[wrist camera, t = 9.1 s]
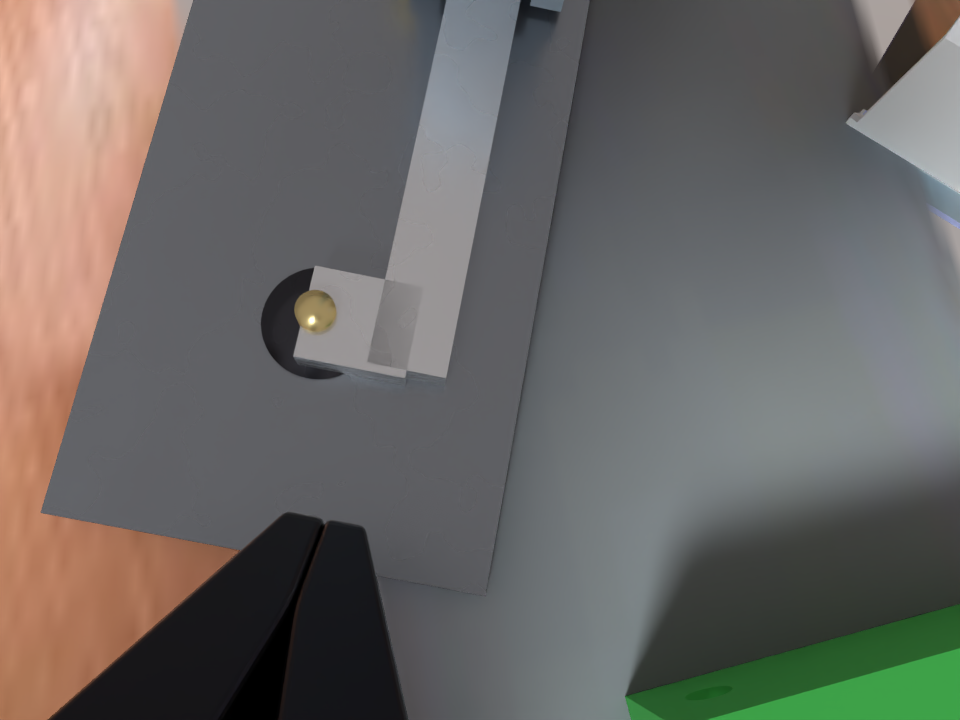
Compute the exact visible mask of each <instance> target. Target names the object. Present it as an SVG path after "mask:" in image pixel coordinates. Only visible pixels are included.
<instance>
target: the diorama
mask: <svg viewBox="0 0 960 720" xmlns="http://www.w3.org/2000/svg"><path fill="white" fill-rule="evenodd" d="M880 61H881V64H882V68H883V71H884V74H885V77H886V80H887V83H888V87H889V90H888V91H887V92H886V93H885V94H884V95H883V96H882V97H881V98H880V99H879V100H878V101H877V102H876V103H875V104H874V105H873V106H872V107H871V108H870V109H869V110H868V111H866V110H865V109H863V110H862V111H861V112H860V113H853V114H852V115H851V116H850V117H849V118H848V120H847V121H846V124H847V125H849V126H851V127H852V128H854V129H856V130H857V131H859V132H861V133H862V134H864V135H866V136H867V137H869V138H871V139H872V140H874V141H875V142H877V143H879V144H880V145H882V146H884V147H885V148H887V149H889V150H890V151H892V152H894V153H895V154H897V155H898V156H900V157H902V158H903V159H905V160H907V161H908V162H910V163H912V164H913V165H915V166H917V167H918V168H920V171H921V174H922V177H923V180H924V183H925V186H926V189H927V191H928V194H929V197H930V200H931V202H932V205H933V207H934V209H935V212H936V214H937V216H939V217H940V218H942V219H944V220H945V221H947V222H949V223H950V224H952V225H954V226H955V227H957V228H959V229H960V16H959V17H958V19H957V20H956V21H955V23H954V24H953V25H952V27H951V28H950V29H949V31H948V32H947V33H946V34H945V35H944V36H943V37H942V38H941V39H940V40H939V41H938V42H937V43H936V44H935V45H934V46H933V45H932V42H931V39H930V36H929V34H928V31H927V29H926V26H925V24H924V22H923V19H922V17H921V15H920V13H919V10H918V8H917V6H916V3H915V2H914V3H913V5H912V7H911V8H910V10H909V12H908V14H907V15H906V17H905V19H904V21H903V22H902V24H901V26H900V27H899V29H898V31H897V33H896V34H895V36H894V37H893V40H892V41H891V43H890V44H889V46H888V48H887V49H886V51H885V53H884V55H883V56H882V58H881V60H880Z"/></svg>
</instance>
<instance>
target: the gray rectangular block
mask: <svg viewBox="0 0 960 720" xmlns="http://www.w3.org/2000/svg"><path fill="white" fill-rule="evenodd" d="M563 2H564V0H531V3H530V6H534V7H539V8H544V9H548V10H553V11H558V12H561V9H562V6H563Z"/></svg>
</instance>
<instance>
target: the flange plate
mask: <svg viewBox="0 0 960 720" xmlns="http://www.w3.org/2000/svg"><path fill="white" fill-rule="evenodd" d="M589 2H590V0H564V2H563V6H562V9H561V12H558V11H553V10H548V9H544V8H539V7H534V6H530V3H531V0H193V3H192V7H191V10H190V13H189V17H188V20H187V23H186V27H185V30H184V33H183V37H182V40H181V43H180V47H179V50H178V54H177V57H176V60H175V64H174V67H173V70H172V74H171V77H170V80H169V84H168V87H167V90H166V94H165V97H164V100H163V104H162V107H161V111H160V114H159V117H158V121H157V124H156V127H155V131H154V134H153V137H152V141H151V144H150V147H149V151H148V154H147V158H146V161H145V164H144V168H143V171H142V174H141V178H140V181H139V184H138V188H137V191H136V194H135V198H134V201H133V205H132V208H131V211H130V215H129V218H128V221H127V225H126V228H125V231H124V235H123V238H122V241H121V245H120V248H119V252H118V255H117V258H116V262H115V265H114V268H113V272H112V275H111V278H110V282H109V285H108V288H107V292H106V295H105V298H104V302H103V305H102V309H101V312H100V315H99V319H98V322H97V325H96V329H95V332H94V335H93V339H92V342H91V345H90V349H89V352H88V356H87V359H86V362H85V366H84V369H83V372H82V376H81V379H80V382H79V386H78V389H77V392H76V396H75V399H74V403H73V406H72V409H71V413H70V416H69V419H68V423H67V426H66V429H65V433H64V436H63V439H62V443H61V446H60V450H59V453H58V456H57V460H56V463H55V466H54V470H53V473H52V476H51V480H50V483H49V486H48V490H47V493H46V496H45V500H44V503H43V507H42V510H41V513H44V514H50V515H55V516H60V517H66V518H71V519H76V520H82V521H87V522H92V523H98V524H103V525H108V526H114V527H119V528H124V529H130V530H135V531H140V532H146V533H151V534H156V535H162V536H167V537H172V538H178V539H183V540H188V541H194V542H199V543H204V544H210V545H215V546H220V547H226V548H231V549H236V550H242V549H243V548H244V547H245V546H246V545H247V544H249V543H250V542H251V541H252V540H253V539H254V538H255V537H257V536H258V535H259V534H260V533H261V532H262V531H263V530H265V529H266V528H267V527H268V526H269V525H270V524H271V523H273V522H274V521H275V520H276V519H277V518H278V517H279V516H281V515H282V514H284V513H286V512H294V513H300V514H305V515H310V516H315V517H319V518H321V519H322V520H323V522H324V524H325V523H326V522H327V521H329V520H336V521H342V522H347V523H352V524H357V525H361V526H363V527H364V528H365V530H366V532H367V536H368V541H369V545H370V550H371V554H372V559H373V563H374V568H375V572H376V576H381V577H386V578H391V579H397V580H402V581H407V582H413V583H418V584H423V585H429V586H434V587H439V588H445V589H450V590H455V591H461V592H466V593H471V594H477V595H482V596H486V590H487V585H488V579H489V573H490V568H491V562H492V556H493V550H494V545H495V539H496V533H497V528H498V522H499V516H500V510H501V505H502V499H503V493H504V488H505V482H506V476H507V471H508V465H509V459H510V453H511V448H512V442H513V436H514V431H515V425H516V419H517V413H518V408H519V402H520V396H521V391H522V385H523V379H524V373H525V368H526V362H527V356H528V351H529V345H530V339H531V334H532V328H533V322H534V316H535V311H536V305H537V299H538V294H539V288H540V282H541V276H542V271H543V265H544V259H545V254H546V248H547V242H548V236H549V231H550V225H551V219H552V214H553V208H554V202H555V197H556V191H557V185H558V179H559V174H560V168H561V162H562V157H563V151H564V145H565V139H566V134H567V128H568V122H569V117H570V111H571V105H572V99H573V94H574V88H575V82H576V77H577V71H578V65H579V60H580V54H581V48H582V42H583V37H584V31H585V25H586V20H587V14H588V8H589Z"/></svg>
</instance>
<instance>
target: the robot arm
mask: <svg viewBox="0 0 960 720" xmlns="http://www.w3.org/2000/svg"><path fill="white" fill-rule="evenodd" d="M48 720H408V716H407V711H406V707H405V702H404V698H403V693H402V689H401V684H400V680H399V675H398V671H397V666H396V662H395V657H394V653H393V648H392V644H391V640H390V635H389V631H388V626H387V622H386V617H385V613H384V608H383V604H382V599H381V595H380V590H379V586H378V581H377V577H376V572H375V568H374V563H373V559H372V554H371V550H370V545H369V541H368V536H367V532H366V530H365V528H364V527H363V526H361V525H357V524H352V523H347V522H342V521H336V520H329V521H327V522H326V523H325V524H324V522H323V520H322V519H321V518H319V517H315V516H310V515H305V514H300V513H294V512H286V513H284V514H282V515H281V516H279V517H278V518H277V519H276V520H275V521H274V522H273V523H271V524H270V525H269V526H268V527H267V528H266V529H265V530H263V531H262V532H261V533H260V534H259V535H258V536H257V537H255V538H254V539H253V540H252V541H251V542H250V543H249V544H247V545H246V546H245V547H244V548H243V549H242V550H241V551H239V552H238V553H237V554H236V555H235V556H234V557H233V558H232V559H230V560H229V561H228V562H227V563H226V564H225V565H224V566H222V567H221V568H220V569H219V570H218V571H217V572H216V573H214V574H213V575H212V576H211V577H210V578H209V579H208V580H206V581H205V582H204V583H203V584H202V585H201V586H200V587H198V588H197V589H196V590H195V591H194V592H193V593H192V594H190V595H189V596H188V597H187V598H186V599H185V600H184V601H182V602H181V603H180V604H179V605H178V606H177V607H176V608H174V609H173V610H172V611H171V612H170V613H169V614H168V615H166V616H165V617H164V618H163V619H162V620H161V621H160V622H158V623H157V624H156V625H155V626H154V627H153V628H152V629H150V630H149V631H148V632H147V633H146V634H145V635H144V636H142V637H141V638H140V639H139V640H138V641H137V642H136V643H134V644H133V645H132V646H131V647H130V648H129V649H128V650H126V651H125V652H124V653H123V654H122V655H121V656H120V657H118V658H117V659H116V660H115V661H114V662H113V663H112V664H110V665H109V666H108V667H107V668H106V669H105V670H104V671H103V672H101V673H100V674H99V675H98V676H97V677H96V678H95V679H93V680H92V681H91V682H90V683H89V684H88V685H87V686H85V687H84V688H83V689H82V690H81V691H80V692H79V693H77V694H76V695H75V696H74V697H73V698H72V699H71V700H69V701H68V702H67V703H66V704H65V705H64V706H63V707H61V708H60V709H59V710H58V711H57V712H56V713H55V714H53V715H52V716H51V717H50V718H49V719H48Z"/></svg>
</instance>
